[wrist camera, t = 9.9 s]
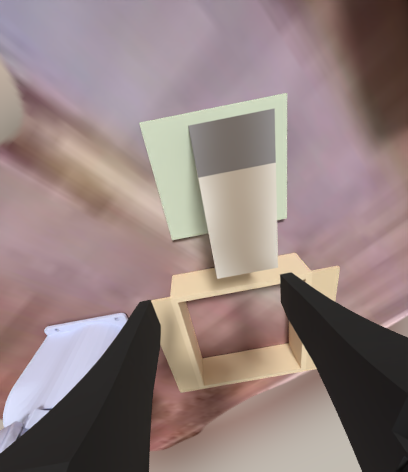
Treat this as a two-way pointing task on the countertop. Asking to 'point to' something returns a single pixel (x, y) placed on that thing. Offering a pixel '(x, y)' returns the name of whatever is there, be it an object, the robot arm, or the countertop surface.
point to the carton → (240, 363)
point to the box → (239, 190)
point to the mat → (184, 169)
